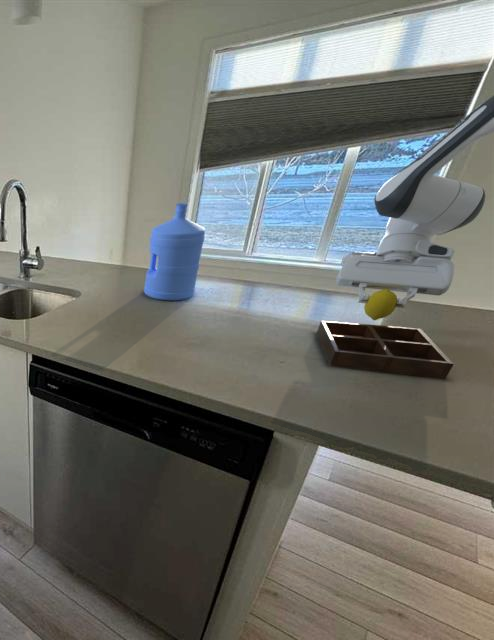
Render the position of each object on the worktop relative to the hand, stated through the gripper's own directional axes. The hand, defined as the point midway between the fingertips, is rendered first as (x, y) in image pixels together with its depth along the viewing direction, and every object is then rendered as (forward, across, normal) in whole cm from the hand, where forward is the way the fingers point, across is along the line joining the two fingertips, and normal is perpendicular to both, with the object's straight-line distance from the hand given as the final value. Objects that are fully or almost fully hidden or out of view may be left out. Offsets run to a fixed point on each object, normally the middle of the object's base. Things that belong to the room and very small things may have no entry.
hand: (381, 304), depth 98 cm
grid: (+16, +2, -6) cm, 17 cm away
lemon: (+3, 0, +4) cm, 5 cm away
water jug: (+2, -52, +7) cm, 53 cm away
